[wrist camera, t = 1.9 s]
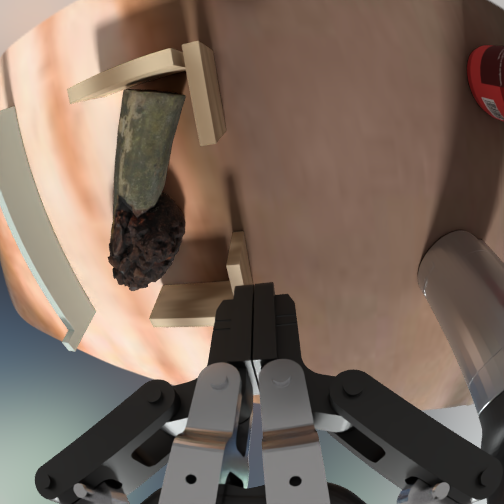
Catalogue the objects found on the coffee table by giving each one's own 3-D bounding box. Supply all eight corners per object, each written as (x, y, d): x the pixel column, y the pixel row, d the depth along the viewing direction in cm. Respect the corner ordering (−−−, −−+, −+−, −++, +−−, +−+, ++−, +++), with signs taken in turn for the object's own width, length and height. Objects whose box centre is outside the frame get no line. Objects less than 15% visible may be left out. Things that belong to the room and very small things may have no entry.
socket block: (212, 50, 16) (198, 40, 12) (253, 287, 29) (251, 324, 24) (102, 84, 17) (67, 89, 13) (166, 293, 30) (153, 327, 25)
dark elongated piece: (137, 86, 18) (103, 89, 13) (216, 98, 19) (202, 102, 14) (121, 259, 28) (99, 294, 23) (180, 275, 28) (166, 314, 24)
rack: (14, 106, 17) (-33, 123, 11) (96, 311, 32) (75, 351, 27) (8, 110, 17) (-38, 128, 11) (89, 311, 33) (68, 350, 27)
